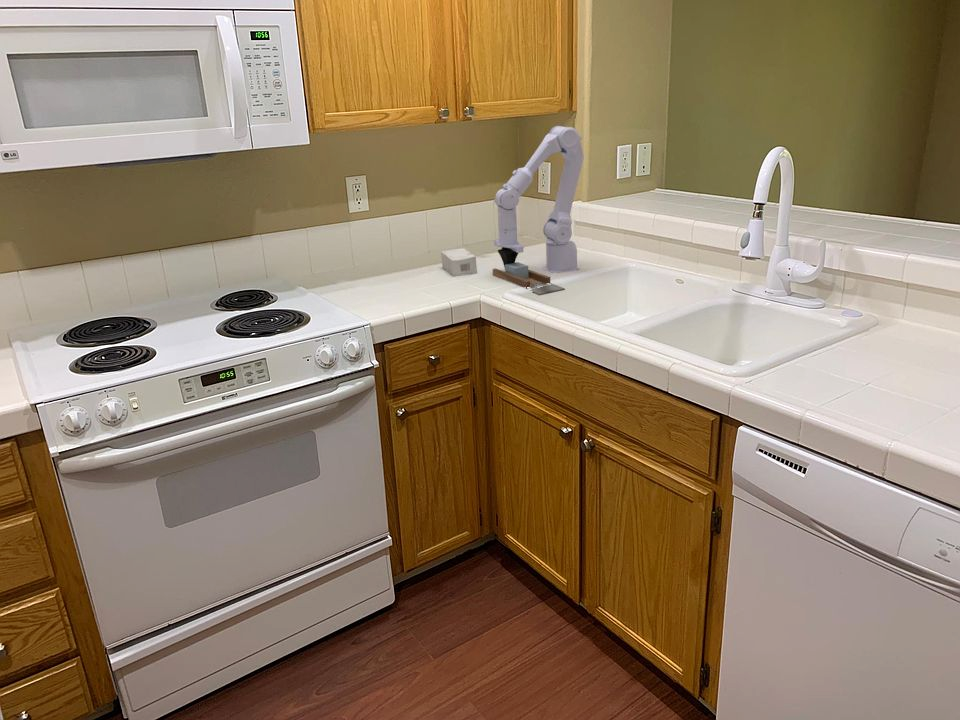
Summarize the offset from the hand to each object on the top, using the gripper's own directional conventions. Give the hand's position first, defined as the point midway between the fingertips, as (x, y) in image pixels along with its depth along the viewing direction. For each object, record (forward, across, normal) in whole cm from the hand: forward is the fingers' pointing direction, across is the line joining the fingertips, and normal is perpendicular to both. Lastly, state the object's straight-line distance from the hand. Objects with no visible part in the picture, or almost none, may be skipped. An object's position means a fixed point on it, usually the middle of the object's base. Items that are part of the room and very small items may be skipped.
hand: (509, 271), depth 230 cm
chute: (+2, +10, 0) cm, 10 cm away
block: (+1, +4, 0) cm, 5 cm away
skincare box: (-1, -9, -11) cm, 14 cm away
